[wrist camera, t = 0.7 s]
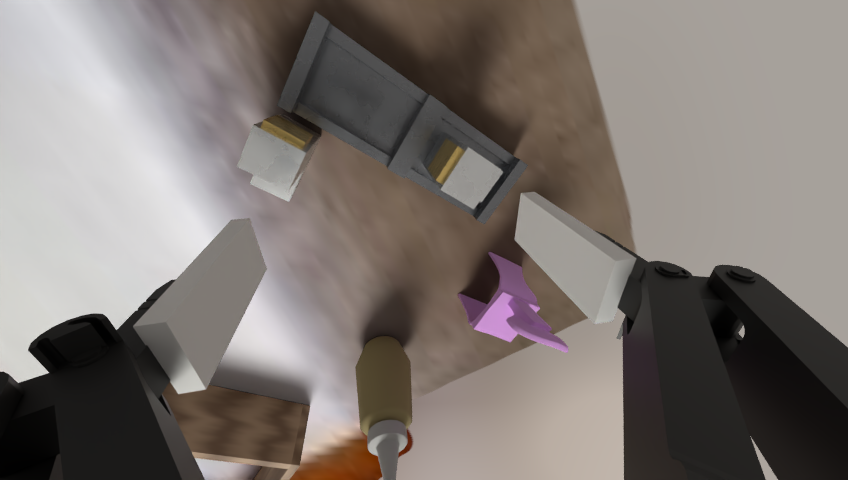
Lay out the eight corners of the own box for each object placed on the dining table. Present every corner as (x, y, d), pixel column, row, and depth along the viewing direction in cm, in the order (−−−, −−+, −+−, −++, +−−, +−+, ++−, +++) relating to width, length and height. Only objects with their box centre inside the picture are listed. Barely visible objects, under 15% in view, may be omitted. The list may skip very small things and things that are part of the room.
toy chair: (450, 295, 44) (485, 383, 31) (483, 248, 41) (537, 324, 28) (492, 311, 47) (540, 398, 34) (526, 269, 44) (593, 346, 31)
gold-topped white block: (292, 195, 34) (270, 229, 26) (256, 178, 32) (220, 209, 24) (323, 130, 31) (309, 146, 23) (285, 108, 30) (256, 117, 22)
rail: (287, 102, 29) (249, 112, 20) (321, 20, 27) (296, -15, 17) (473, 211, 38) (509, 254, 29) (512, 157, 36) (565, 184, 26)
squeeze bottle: (376, 373, 49) (380, 509, 34) (345, 347, 45) (333, 486, 30) (417, 350, 48) (441, 478, 33) (388, 321, 45) (400, 450, 29)
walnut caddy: (110, 490, 52) (63, 563, 44) (155, 373, 42) (105, 440, 34) (246, 501, 60) (227, 563, 52) (310, 405, 50) (299, 465, 42)
